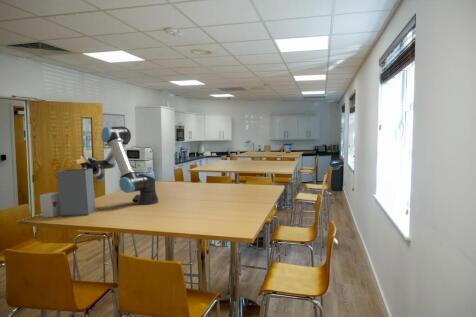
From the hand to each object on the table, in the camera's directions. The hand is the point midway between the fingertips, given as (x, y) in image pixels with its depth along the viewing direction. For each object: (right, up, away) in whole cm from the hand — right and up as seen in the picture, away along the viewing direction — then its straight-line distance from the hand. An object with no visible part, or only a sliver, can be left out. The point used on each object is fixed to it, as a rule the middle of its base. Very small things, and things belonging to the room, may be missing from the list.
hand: (83, 157), depth 237 cm
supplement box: (-14, -40, -15) cm, 45 cm away
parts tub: (+3, -39, -12) cm, 41 cm away
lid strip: (0, -4, -4) cm, 5 cm away
